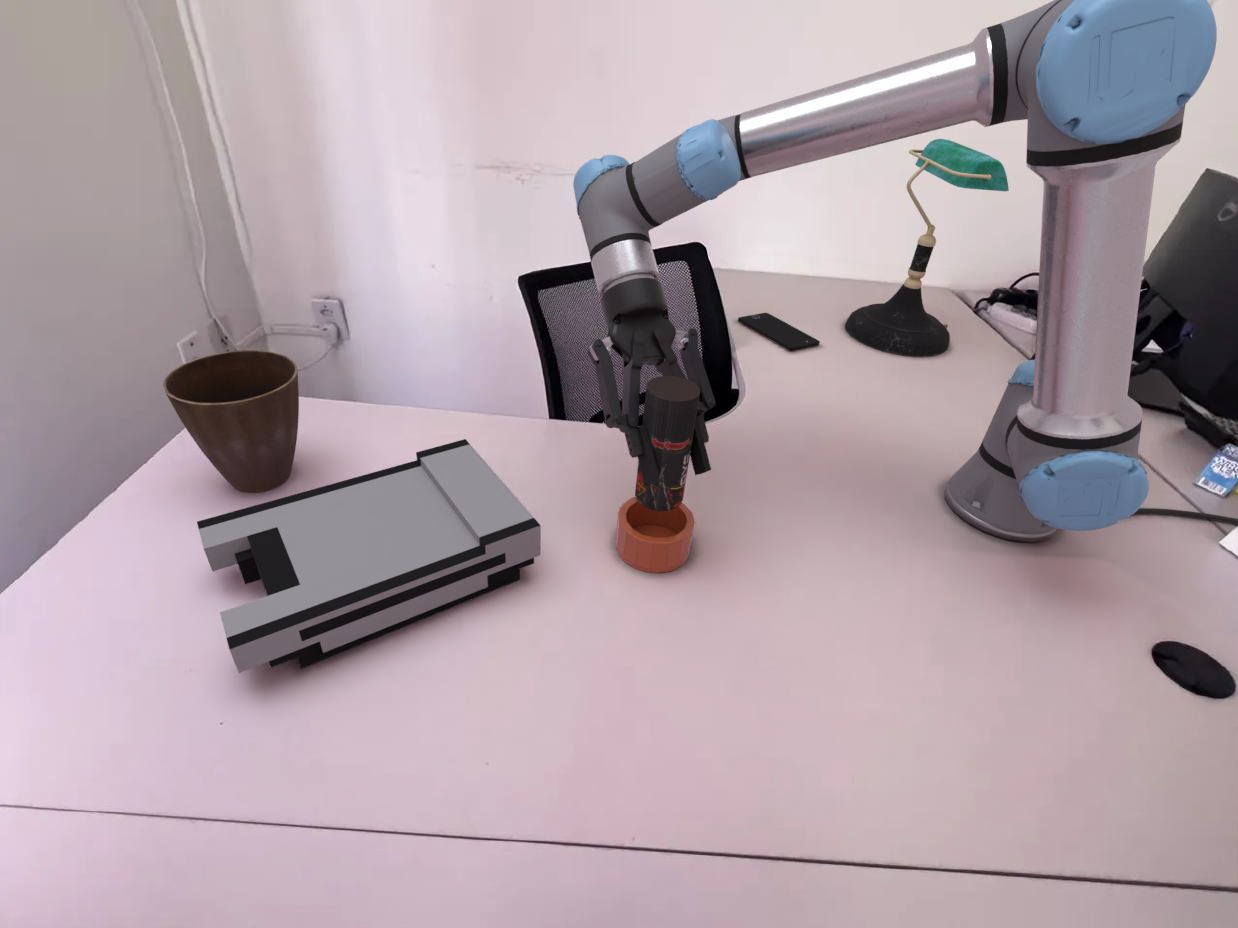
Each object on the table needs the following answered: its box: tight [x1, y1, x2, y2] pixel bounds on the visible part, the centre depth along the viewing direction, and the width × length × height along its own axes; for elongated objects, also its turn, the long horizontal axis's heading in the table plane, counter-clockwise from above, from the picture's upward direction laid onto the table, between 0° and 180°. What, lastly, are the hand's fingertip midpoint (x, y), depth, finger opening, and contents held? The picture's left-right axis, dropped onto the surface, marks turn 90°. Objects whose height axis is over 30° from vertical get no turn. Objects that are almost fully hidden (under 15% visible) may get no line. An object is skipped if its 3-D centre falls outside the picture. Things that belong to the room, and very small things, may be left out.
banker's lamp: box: [844, 138, 1010, 358], centre depth 139 cm, size 26×23×40 cm
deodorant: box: [634, 375, 700, 511], centre depth 76 cm, size 6×6×15 cm
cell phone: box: [737, 312, 820, 352], centre depth 147 cm, size 9×18×1 cm, turn 31°
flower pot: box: [162, 349, 300, 494], centre depth 87 cm, size 15×15×16 cm
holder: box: [615, 496, 696, 574], centre depth 83 cm, size 10×10×5 cm
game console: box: [196, 438, 542, 674], centre depth 75 cm, size 21×32×8 cm, turn 125°
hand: (678, 477), depth 74 cm, fingers closed on deodorant, 6 cm apart
